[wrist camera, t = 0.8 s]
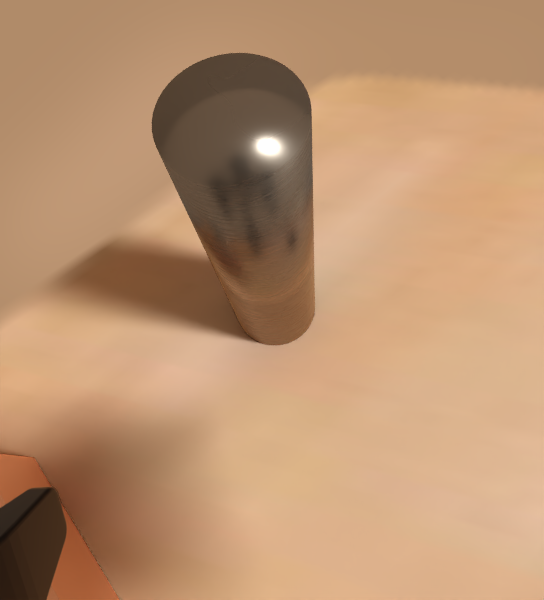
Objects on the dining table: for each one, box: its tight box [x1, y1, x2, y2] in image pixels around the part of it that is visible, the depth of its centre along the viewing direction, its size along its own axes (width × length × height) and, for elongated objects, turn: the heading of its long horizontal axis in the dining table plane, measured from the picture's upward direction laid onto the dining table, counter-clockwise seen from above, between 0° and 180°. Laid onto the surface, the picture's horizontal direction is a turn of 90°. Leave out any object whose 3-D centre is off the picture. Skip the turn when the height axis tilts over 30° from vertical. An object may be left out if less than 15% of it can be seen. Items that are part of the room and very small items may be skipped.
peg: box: [152, 53, 315, 345], centre depth 18 cm, size 4×4×13 cm
